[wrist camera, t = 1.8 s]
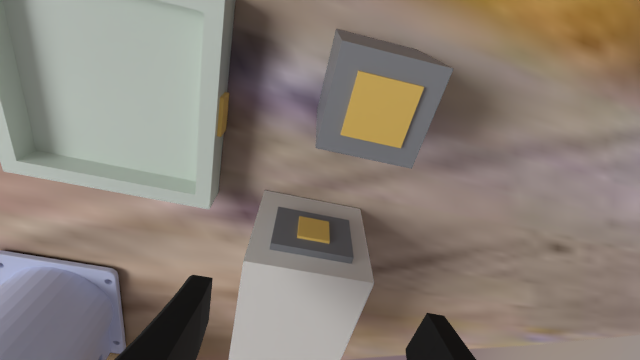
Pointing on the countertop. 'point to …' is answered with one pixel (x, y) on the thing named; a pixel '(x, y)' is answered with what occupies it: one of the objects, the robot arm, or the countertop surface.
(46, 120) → the parts tray
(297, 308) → the control box
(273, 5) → the countertop surface
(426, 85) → the block
